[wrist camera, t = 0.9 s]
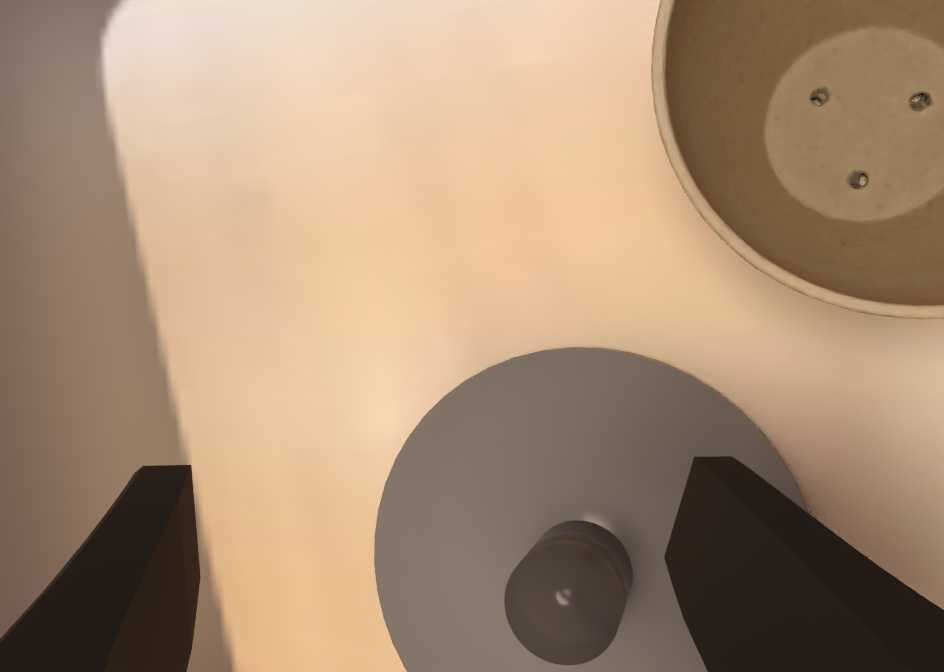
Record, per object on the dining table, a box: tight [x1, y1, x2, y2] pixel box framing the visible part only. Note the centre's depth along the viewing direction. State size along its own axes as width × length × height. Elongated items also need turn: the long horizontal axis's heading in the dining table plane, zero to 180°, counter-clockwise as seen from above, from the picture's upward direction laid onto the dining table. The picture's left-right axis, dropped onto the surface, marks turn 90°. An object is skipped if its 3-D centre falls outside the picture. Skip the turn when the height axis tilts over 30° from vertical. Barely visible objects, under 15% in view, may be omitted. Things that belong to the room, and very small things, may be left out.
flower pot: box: [651, 0, 944, 319], centre depth 18 cm, size 10×10×7 cm
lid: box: [374, 348, 809, 672], centre depth 23 cm, size 13×13×4 cm
